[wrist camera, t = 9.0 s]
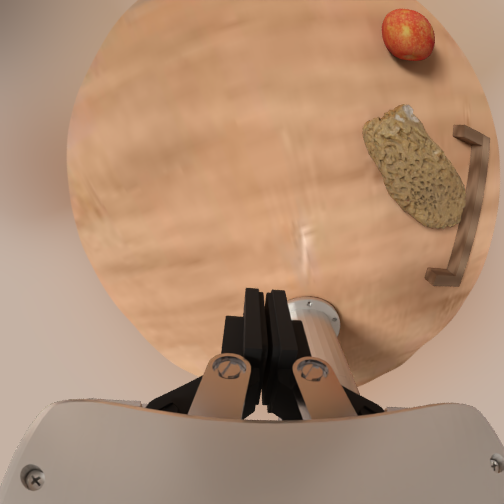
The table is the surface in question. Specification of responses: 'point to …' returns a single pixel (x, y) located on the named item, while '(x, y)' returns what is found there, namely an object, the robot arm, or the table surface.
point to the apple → (408, 34)
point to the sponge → (415, 168)
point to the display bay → (466, 209)
